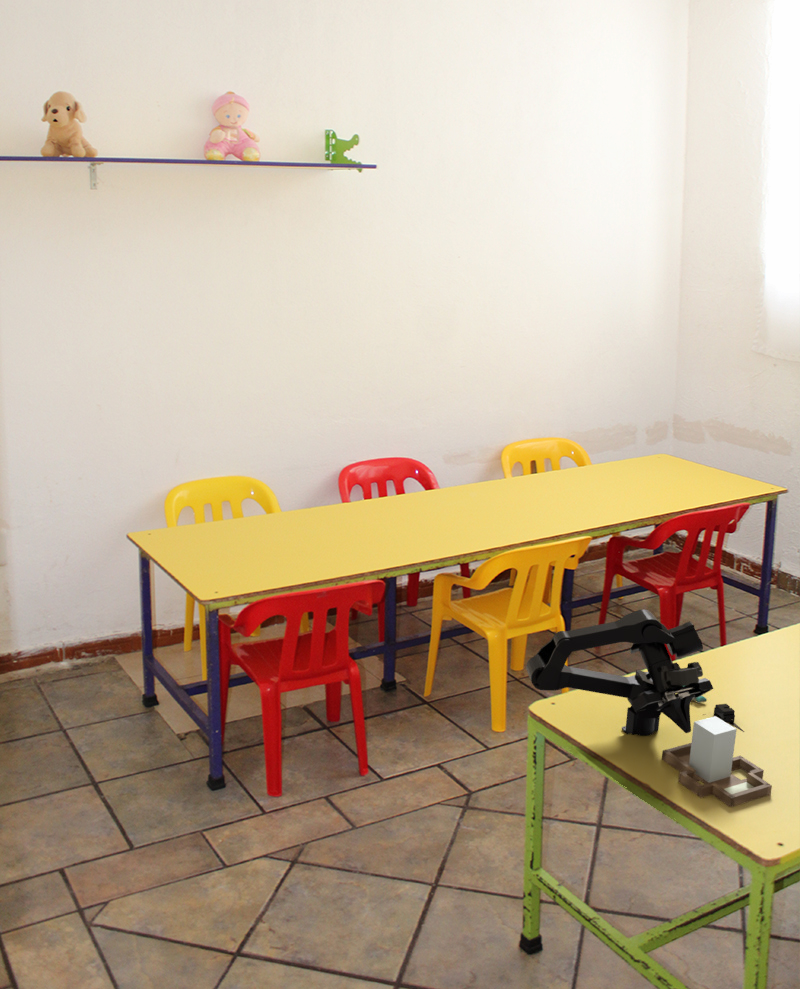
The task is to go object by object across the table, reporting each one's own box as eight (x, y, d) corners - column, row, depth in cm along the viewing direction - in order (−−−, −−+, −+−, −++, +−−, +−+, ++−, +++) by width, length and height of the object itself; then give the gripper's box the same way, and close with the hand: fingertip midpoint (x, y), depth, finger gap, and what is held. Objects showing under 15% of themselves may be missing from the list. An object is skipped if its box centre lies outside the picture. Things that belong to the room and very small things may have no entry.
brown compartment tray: (650, 766, 210) (651, 753, 209) (709, 750, 218) (711, 737, 217) (718, 816, 193) (720, 801, 192) (780, 796, 200) (782, 782, 200)
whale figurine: (693, 691, 246) (695, 677, 245) (711, 704, 240) (713, 690, 239) (674, 694, 244) (675, 680, 243) (691, 707, 238) (693, 693, 237)
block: (688, 768, 208) (693, 721, 205) (709, 762, 210) (715, 716, 207) (708, 782, 202) (714, 734, 200) (730, 776, 205) (736, 728, 202)
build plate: (751, 736, 225) (753, 719, 224) (722, 739, 224) (724, 721, 222) (722, 711, 237) (724, 694, 236) (695, 714, 235) (696, 696, 234)
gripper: (646, 657, 207) (676, 728, 200) (712, 644, 215) (743, 712, 209) (618, 676, 216) (646, 745, 209) (683, 663, 224) (712, 728, 217)
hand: (688, 732), depth 211 cm, fingers closed
